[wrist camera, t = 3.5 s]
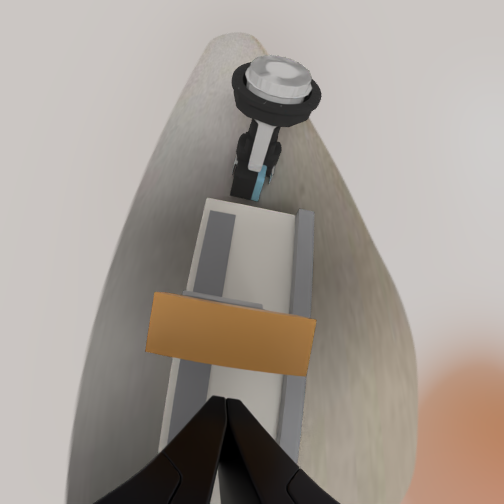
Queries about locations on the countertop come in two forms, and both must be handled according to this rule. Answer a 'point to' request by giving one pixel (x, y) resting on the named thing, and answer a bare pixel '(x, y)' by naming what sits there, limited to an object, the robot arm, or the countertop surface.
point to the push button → (268, 115)
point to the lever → (229, 333)
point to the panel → (251, 290)
